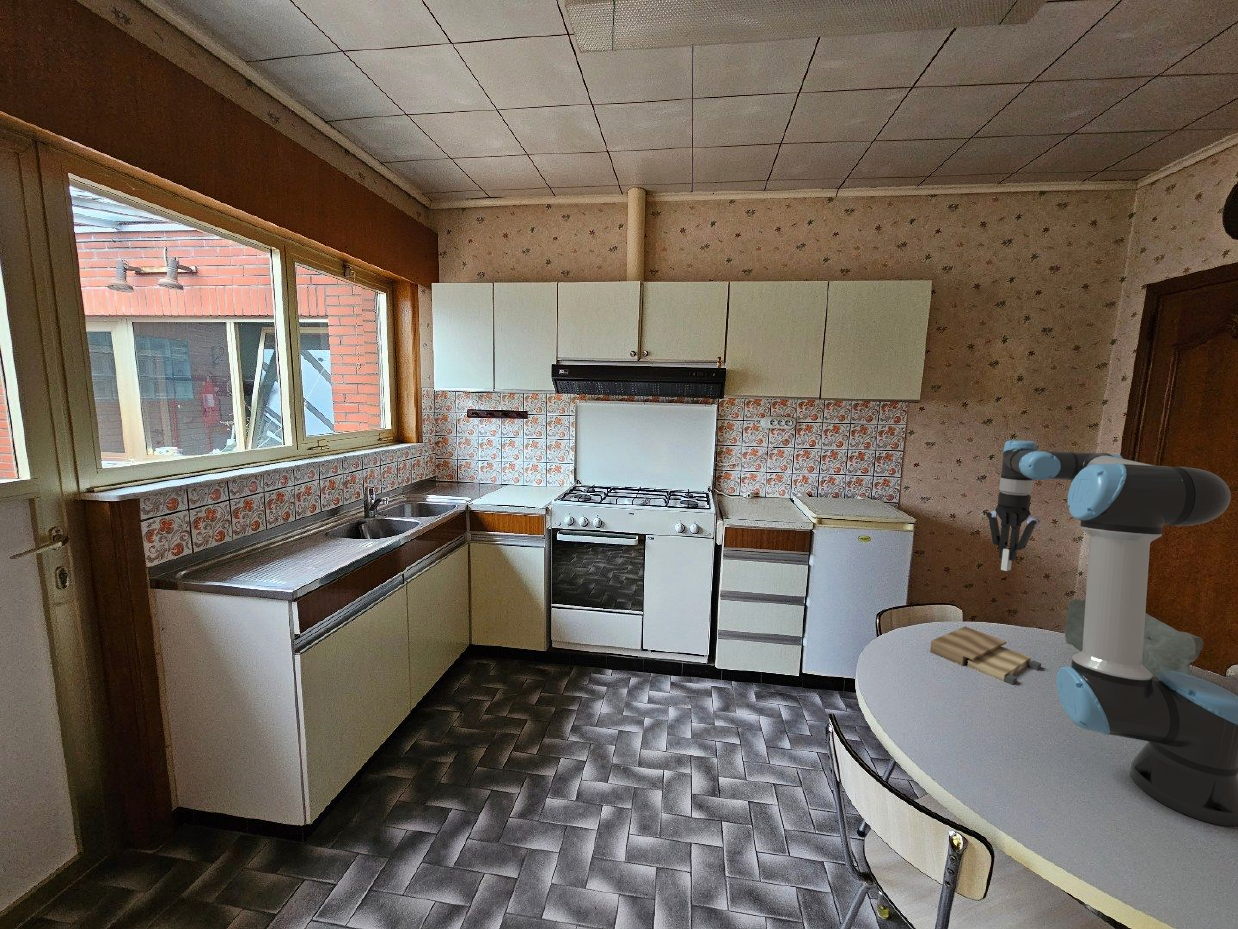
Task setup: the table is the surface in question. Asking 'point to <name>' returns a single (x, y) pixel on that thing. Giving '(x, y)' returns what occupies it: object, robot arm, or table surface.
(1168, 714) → the robot arm
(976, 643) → the board
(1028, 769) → the table surface
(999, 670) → the plank
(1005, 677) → the spacers
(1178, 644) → the rock
